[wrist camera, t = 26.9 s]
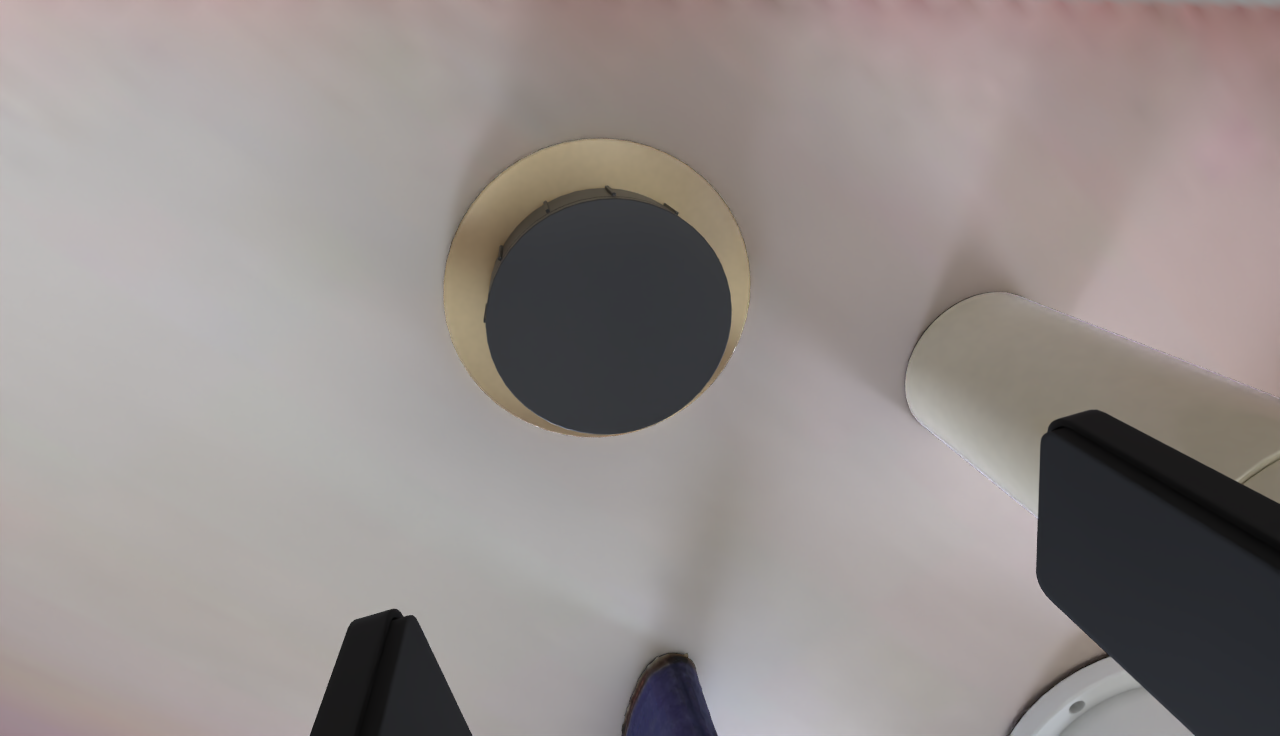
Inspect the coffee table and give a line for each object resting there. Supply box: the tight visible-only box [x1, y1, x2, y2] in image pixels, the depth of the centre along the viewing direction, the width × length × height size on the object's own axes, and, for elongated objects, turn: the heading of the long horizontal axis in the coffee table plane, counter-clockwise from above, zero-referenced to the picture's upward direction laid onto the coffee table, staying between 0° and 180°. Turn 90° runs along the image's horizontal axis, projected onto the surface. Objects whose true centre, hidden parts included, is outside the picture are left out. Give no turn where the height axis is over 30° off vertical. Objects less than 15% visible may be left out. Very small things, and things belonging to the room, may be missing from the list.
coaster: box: [444, 138, 750, 437], centre depth 21 cm, size 10×10×1 cm
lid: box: [483, 186, 732, 435], centre depth 20 cm, size 7×7×2 cm
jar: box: [905, 292, 1280, 519], centre depth 19 cm, size 6×6×13 cm
